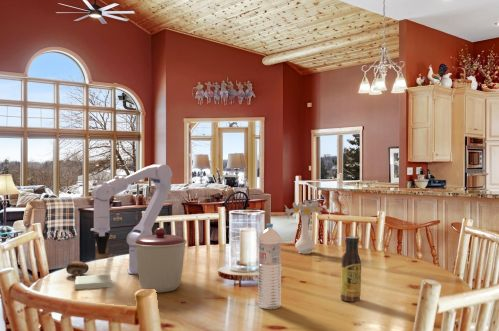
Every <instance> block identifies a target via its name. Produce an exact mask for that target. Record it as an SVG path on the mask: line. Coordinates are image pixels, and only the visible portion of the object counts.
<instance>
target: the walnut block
mask: <svg viewBox="0 0 499 331" xmlns="http://www.w3.org/2000/svg"><path fill="white" fill-rule="evenodd" d="M98 259H102V260H103V259H109V243H108V242H107V245H106V251H105V254H99V252H98V247H97V243H95V260H98Z"/></svg>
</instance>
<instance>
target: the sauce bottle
mask: <svg viewBox="0 0 499 331" xmlns="http://www.w3.org/2000/svg"><path fill="white" fill-rule="evenodd" d="M359 240H360V239H359V237H357V236H346V237H345V252H344V253H343V255H342V257H341V267H340V299H341V300H342V301H344V302H350V303H352V302H353V303H355V302H359V301H360V300H361V292H362V291H361V287H362V261H361V257H360V255H359V249H358V247H359Z"/></svg>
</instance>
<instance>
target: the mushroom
mask: <svg viewBox="0 0 499 331" xmlns="http://www.w3.org/2000/svg"><path fill="white" fill-rule="evenodd" d="M65 271H66V273H67V274H69V275H72V276H74V277H76V276H81V275H83V274H84V275H85V274H86V273H87V272H89V265H88V264H87V263H85V262H83V261H80V260H75V261H71V262H69V263H68V264H67V265H66V269H65Z"/></svg>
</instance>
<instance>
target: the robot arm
mask: <svg viewBox="0 0 499 331" xmlns="http://www.w3.org/2000/svg"><path fill="white" fill-rule="evenodd" d="M173 175H174V174H173V172H172V170H171V167H170V166H169V165H167V164H156V163H154V164H151V165H148V166H145V167H144V168H141V169H139V170H137V171H135V172H133V173H132V174H128V175H127V176H122V175H115V176H114V177H113V178H112V179H111V180H108V181H103V182H102V184H97V185H96V186H94V187H93V188H92V190H91V193H90V194H91V197H92V198H93V228H90V232H94V234H93V237H94V240H95V243H96V244H97V247H98V252H99V254H105V251H106V245H107V243H108V240H109V238H110V237H111V236H110V232H109V231H111V226H110V199H111V198H112V197H113V196H115V195H118V194H119V193H121V192H125V191H126V190H128V187H129V185H131V184H134V183H137V182H139V181H142V180H144V179H146V178H149V179H150V180H151V181H152V183H153V184H154V186H155V191H154V194H153V195H152V197H151V199H150V201H149V203H148V205H147V207H146V209H145V211H144V212H143V214H142V217H141V219H140V221H139V223H138V224H137V225H135V226H134V227H133V228H132V230H131V231H130V232H129V233H128V234H127V237H126V243H127V244H128V246H129V248H128V255H129V256H128V263H129V264H128V268H127V272H128V275H134V274H135V275H136V274H137V275H139V274H138V267H137V257H136V248H135V245H134V244H133V242H134V241H136V240H137V239H138V238H140V237H144V236H149V235H153V231H152V229H153V226H154V225H155V223H156V221H157V218H158V216H159V214H160V212H161V211H162V208H163V207H164V204H165V202H166V200H167V199H168V196H169V194H170V192H171V189H172V178H173Z"/></svg>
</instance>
